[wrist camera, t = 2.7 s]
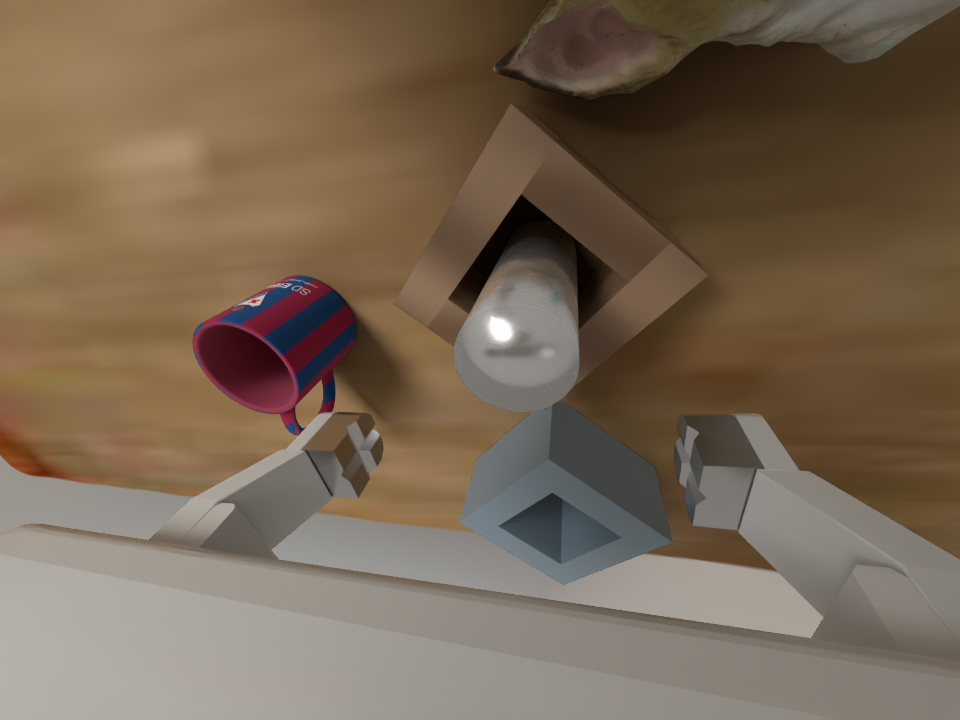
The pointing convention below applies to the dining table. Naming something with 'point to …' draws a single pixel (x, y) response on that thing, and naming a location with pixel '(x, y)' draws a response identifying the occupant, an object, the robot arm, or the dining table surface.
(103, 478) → the dining table surface
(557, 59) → the ceramic sculpture
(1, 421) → the dining table surface
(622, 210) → the mount
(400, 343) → the dining table surface
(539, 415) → the socket
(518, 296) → the pin
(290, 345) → the mug
